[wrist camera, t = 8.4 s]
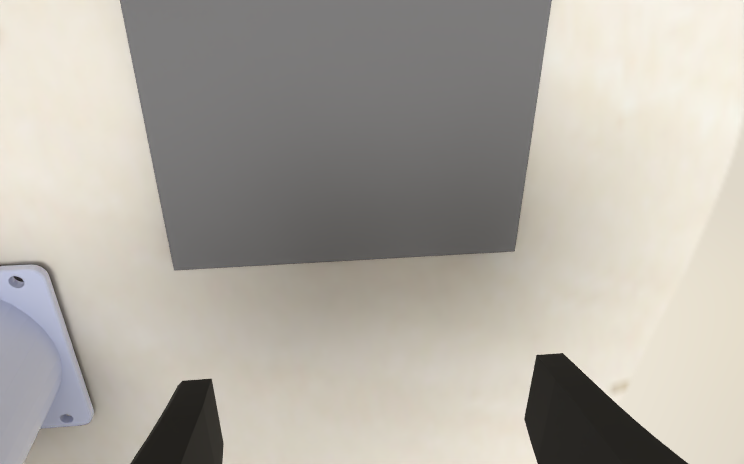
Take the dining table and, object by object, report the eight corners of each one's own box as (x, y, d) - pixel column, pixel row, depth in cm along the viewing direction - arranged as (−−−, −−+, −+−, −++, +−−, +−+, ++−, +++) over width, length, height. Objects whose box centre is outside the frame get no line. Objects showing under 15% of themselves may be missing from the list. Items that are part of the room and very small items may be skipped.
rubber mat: (176, 264, 22) (174, 270, 22) (95, -144, 16) (90, -145, 15) (511, 245, 24) (514, 251, 23) (566, -141, 17) (572, -141, 17)
